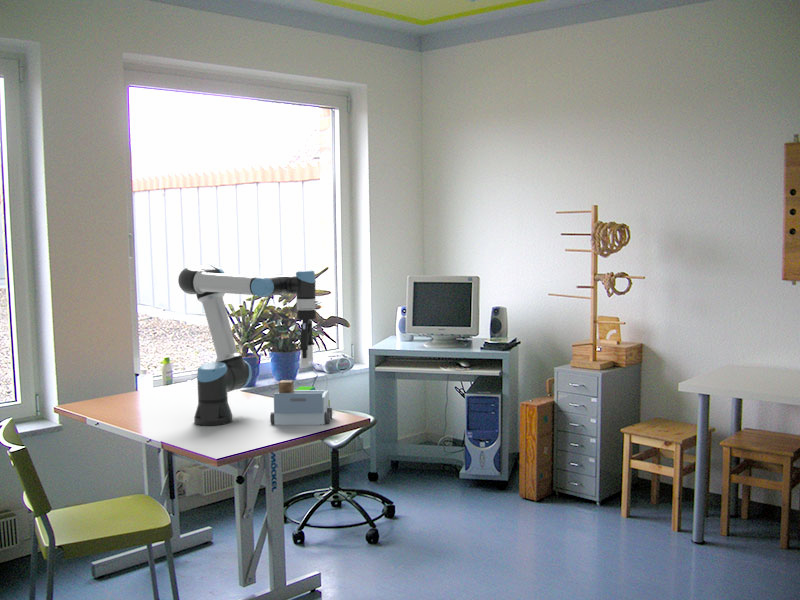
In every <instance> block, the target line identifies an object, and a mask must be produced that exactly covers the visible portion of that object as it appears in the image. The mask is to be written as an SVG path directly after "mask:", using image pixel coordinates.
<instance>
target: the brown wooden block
mask: <svg viewBox="0 0 800 600" xmlns="http://www.w3.org/2000/svg"><path fill="white" fill-rule="evenodd" d="M294 390H295V389H294V379H293V380H292V379H281V380H280V381H278V393H294Z"/></svg>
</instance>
